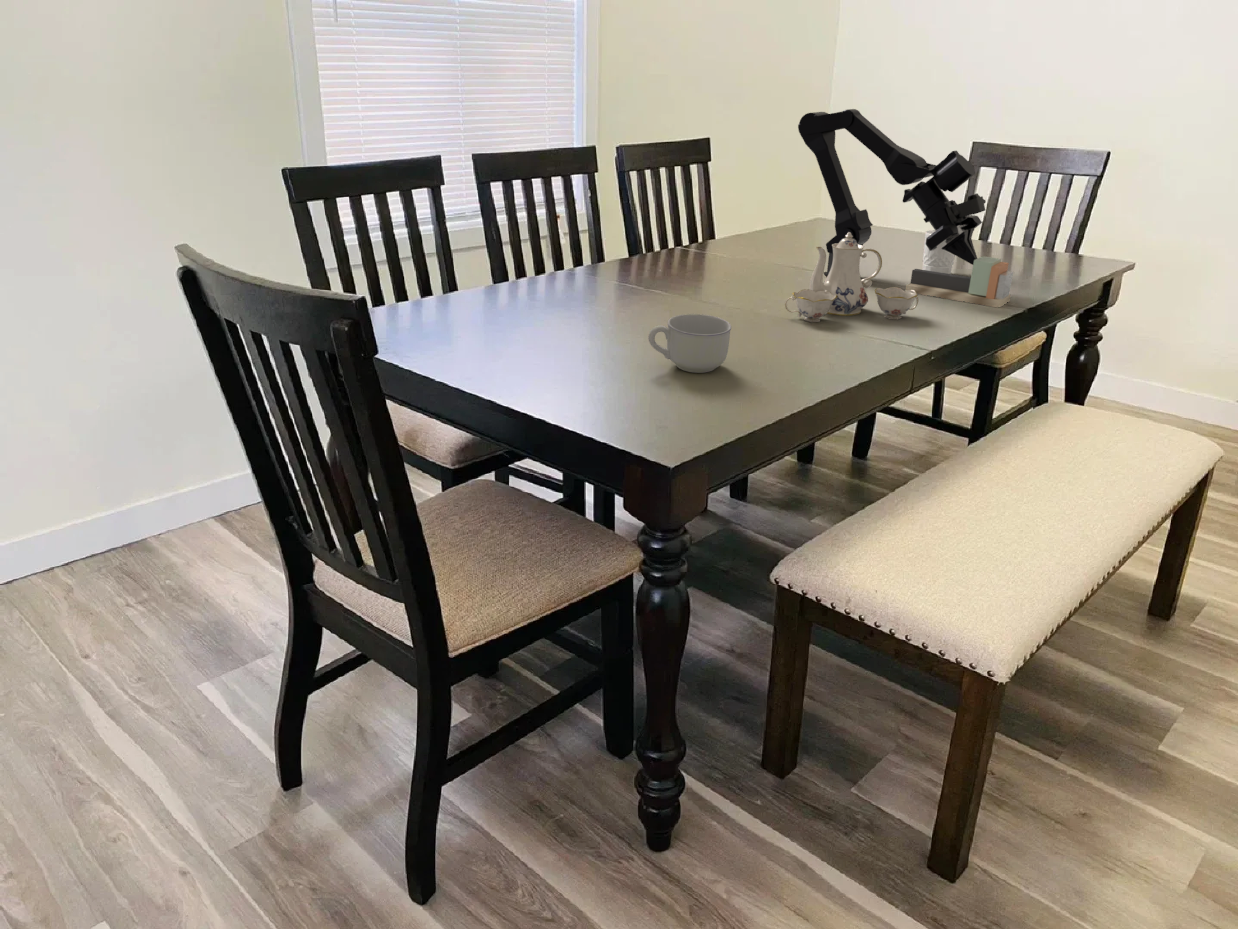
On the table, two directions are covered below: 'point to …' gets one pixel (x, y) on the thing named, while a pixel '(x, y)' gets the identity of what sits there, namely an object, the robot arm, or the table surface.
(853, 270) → the chinaware
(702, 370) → the teacup
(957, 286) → the rail
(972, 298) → the track board
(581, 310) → the table surface
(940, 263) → the white cup
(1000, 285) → the connector
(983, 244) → the table surface
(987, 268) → the sleeve
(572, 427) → the table surface
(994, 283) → the band
